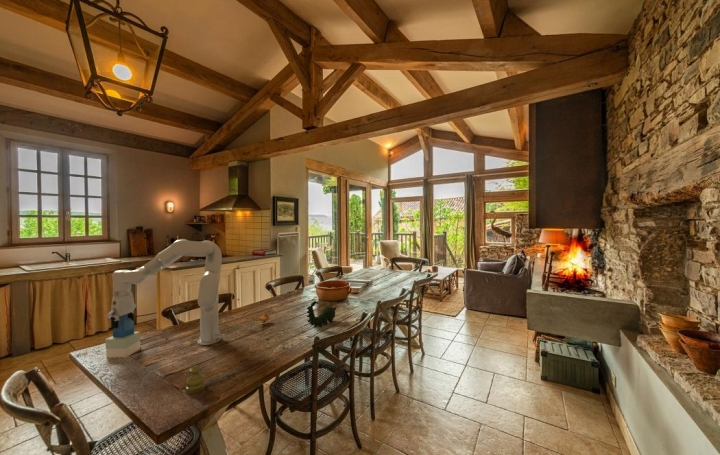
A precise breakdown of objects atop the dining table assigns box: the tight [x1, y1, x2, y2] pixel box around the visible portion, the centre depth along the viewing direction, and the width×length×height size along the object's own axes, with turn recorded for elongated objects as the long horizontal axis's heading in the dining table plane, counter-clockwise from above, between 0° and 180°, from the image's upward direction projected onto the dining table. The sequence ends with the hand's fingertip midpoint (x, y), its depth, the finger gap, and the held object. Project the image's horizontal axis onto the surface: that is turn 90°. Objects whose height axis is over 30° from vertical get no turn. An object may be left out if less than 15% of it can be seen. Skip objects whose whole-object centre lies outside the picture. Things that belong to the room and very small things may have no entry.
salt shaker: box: [184, 364, 206, 395], centre depth 119 cm, size 7×7×10 cm
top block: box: [104, 331, 141, 350], centre depth 150 cm, size 10×10×5 cm
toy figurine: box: [306, 300, 337, 328], centre depth 193 cm, size 9×19×25 cm
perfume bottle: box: [112, 314, 135, 338], centre depth 150 cm, size 6×6×12 cm
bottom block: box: [105, 340, 141, 359], centre depth 150 cm, size 10×10×5 cm
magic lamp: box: [251, 305, 273, 323], centre depth 193 cm, size 7×18×11 cm, turn 150°
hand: (122, 324), depth 150 cm, fingers open, 9 cm apart
